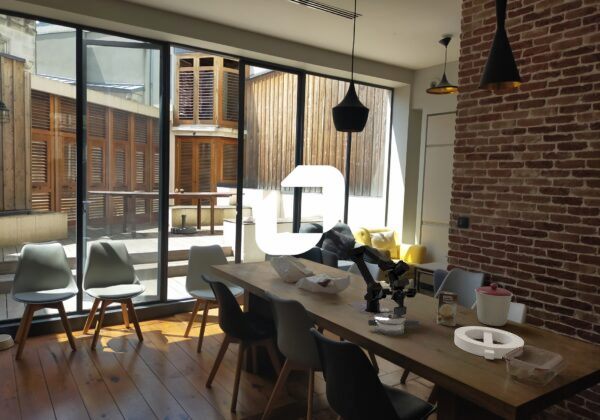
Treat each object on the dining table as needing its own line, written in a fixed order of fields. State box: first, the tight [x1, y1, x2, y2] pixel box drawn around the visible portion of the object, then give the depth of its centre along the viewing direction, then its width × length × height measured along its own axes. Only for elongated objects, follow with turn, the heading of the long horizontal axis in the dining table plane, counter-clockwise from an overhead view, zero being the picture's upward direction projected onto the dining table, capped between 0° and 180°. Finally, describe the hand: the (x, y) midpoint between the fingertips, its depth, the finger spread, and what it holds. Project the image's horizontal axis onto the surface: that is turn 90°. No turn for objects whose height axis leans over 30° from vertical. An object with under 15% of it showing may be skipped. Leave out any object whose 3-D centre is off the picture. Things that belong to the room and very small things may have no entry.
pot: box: [367, 319, 419, 336], centre depth 211 cm, size 14×24×5 cm, turn 97°
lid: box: [373, 305, 408, 324], centre depth 212 cm, size 15×19×5 cm
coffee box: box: [436, 290, 458, 327], centre depth 224 cm, size 9×6×16 cm
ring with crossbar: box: [453, 325, 525, 360], centre depth 194 cm, size 28×28×5 cm
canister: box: [474, 282, 514, 327], centre depth 227 cm, size 18×18×21 cm
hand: (402, 308), depth 219 cm, fingers closed, pressing on lid
